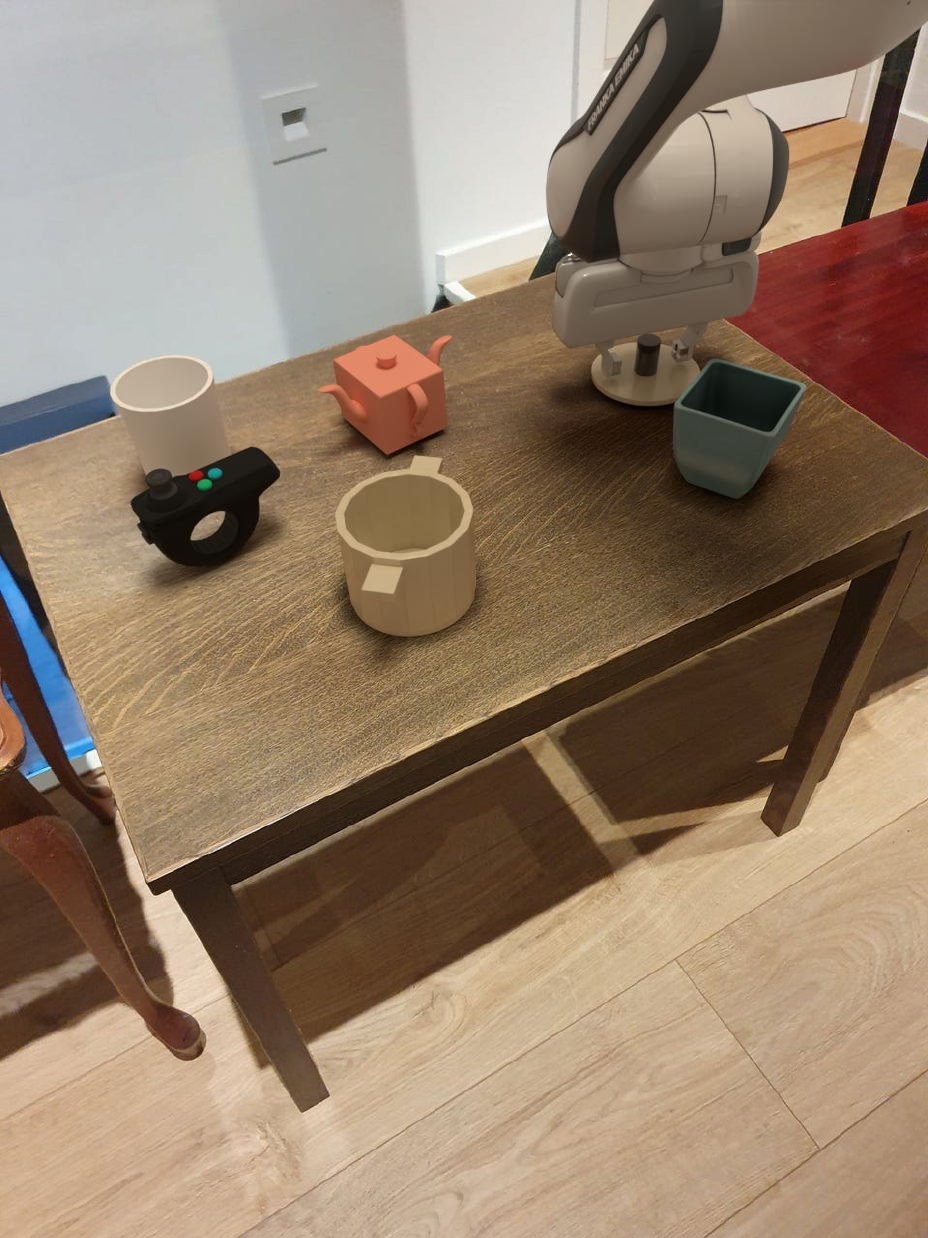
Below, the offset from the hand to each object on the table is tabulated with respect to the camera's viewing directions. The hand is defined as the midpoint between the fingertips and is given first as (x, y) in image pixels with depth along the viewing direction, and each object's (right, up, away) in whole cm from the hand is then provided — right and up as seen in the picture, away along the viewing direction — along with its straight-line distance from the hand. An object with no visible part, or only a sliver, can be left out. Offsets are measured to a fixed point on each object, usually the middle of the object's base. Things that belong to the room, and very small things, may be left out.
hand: (645, 365), depth 92 cm
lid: (0, -1, +1) cm, 1 cm away
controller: (-40, -20, -14) cm, 47 cm away
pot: (-23, -24, -18) cm, 38 cm away
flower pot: (+5, -13, -10) cm, 17 cm away
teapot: (-26, -7, -2) cm, 27 cm away
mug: (-45, -12, -6) cm, 47 cm away
